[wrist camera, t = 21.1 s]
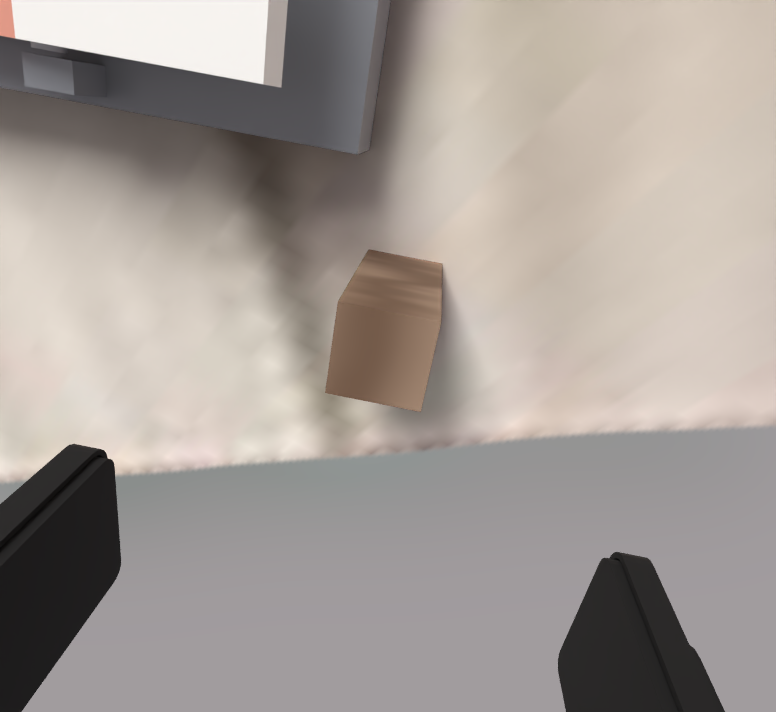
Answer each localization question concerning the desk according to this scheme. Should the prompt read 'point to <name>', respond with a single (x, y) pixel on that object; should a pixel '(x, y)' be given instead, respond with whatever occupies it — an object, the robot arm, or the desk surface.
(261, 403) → the desk surface
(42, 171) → the desk surface
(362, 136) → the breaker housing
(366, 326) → the peg
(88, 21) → the breaker rocker
